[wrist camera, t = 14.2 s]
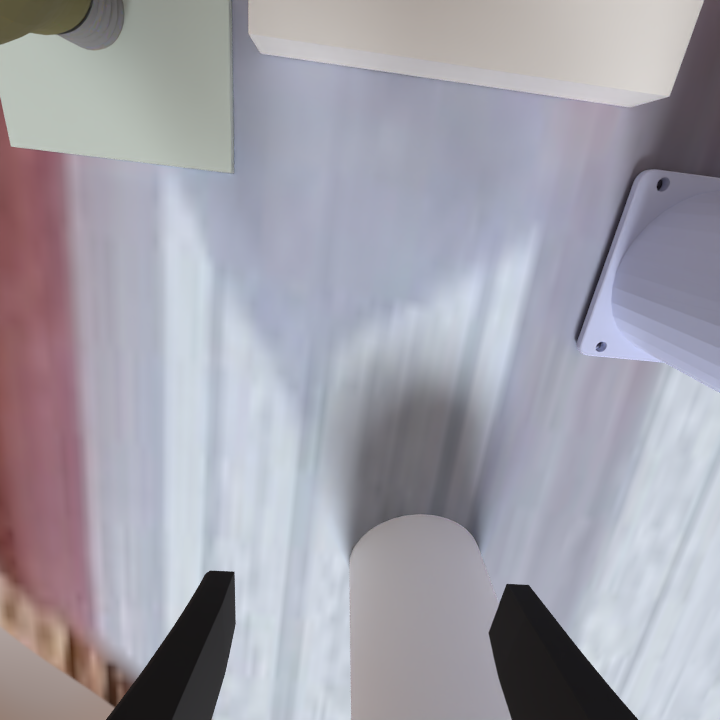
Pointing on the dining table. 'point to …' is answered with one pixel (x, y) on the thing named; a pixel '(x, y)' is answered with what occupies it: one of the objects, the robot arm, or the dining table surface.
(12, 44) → the rubber pad
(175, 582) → the dining table surface
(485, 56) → the socket block
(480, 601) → the cup
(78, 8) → the light bulb
